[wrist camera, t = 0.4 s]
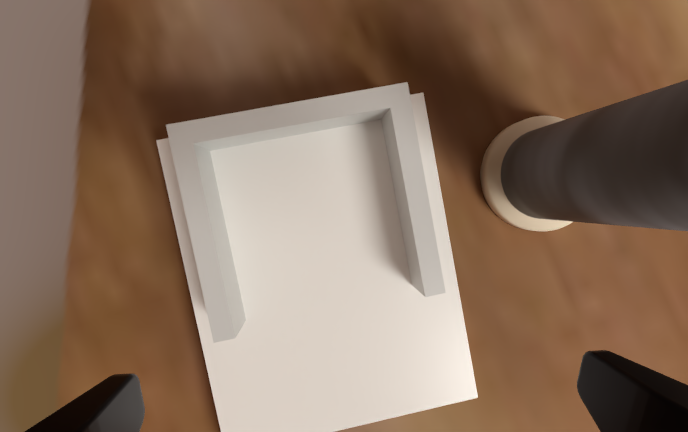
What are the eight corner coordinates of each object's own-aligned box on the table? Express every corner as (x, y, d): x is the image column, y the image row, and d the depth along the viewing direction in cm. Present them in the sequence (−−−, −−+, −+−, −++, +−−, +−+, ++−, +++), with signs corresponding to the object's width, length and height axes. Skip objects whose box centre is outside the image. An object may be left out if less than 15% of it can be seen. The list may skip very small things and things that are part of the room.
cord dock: (469, 386, 22) (500, 425, 18) (231, 442, 21) (213, 494, 17) (417, 98, 21) (439, 76, 17) (165, 143, 20) (131, 130, 16)
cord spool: (593, 218, 22) (1004, 245, 9) (490, 239, 21) (761, 301, 8) (576, 110, 21) (980, -29, 8) (471, 130, 21) (724, 16, 8)
